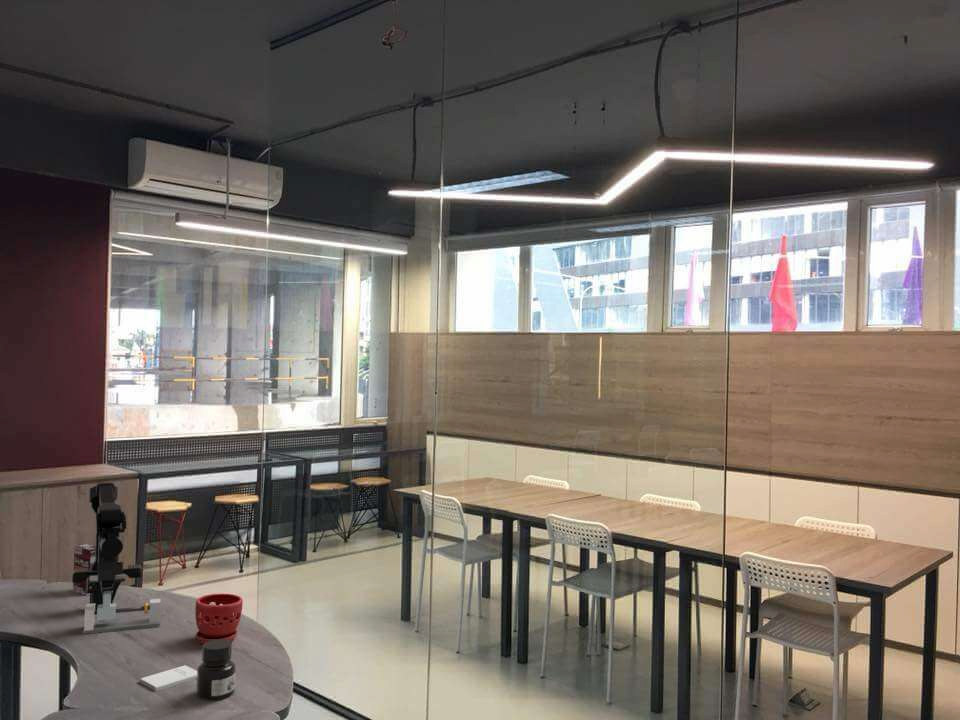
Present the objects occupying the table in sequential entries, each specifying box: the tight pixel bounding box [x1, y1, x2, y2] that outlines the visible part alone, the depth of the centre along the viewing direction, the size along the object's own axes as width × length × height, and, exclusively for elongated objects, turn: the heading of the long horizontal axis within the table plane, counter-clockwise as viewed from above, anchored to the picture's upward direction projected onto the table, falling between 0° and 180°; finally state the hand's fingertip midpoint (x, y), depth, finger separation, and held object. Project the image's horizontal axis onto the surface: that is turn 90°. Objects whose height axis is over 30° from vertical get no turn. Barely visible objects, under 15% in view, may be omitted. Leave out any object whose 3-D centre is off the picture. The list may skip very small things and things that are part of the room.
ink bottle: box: [196, 640, 236, 701], centre depth 190 cm, size 10×9×12 cm
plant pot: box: [194, 593, 244, 644], centre depth 227 cm, size 13×13×12 cm
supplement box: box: [72, 543, 95, 596], centre depth 270 cm, size 9×5×16 cm, turn 62°
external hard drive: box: [138, 665, 197, 692], centre depth 198 cm, size 2×8×12 cm
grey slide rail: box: [82, 598, 161, 635], centre depth 236 cm, size 21×7×7 cm, turn 113°
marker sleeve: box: [96, 591, 117, 621], centre depth 234 cm, size 5×4×8 cm
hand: (106, 601), depth 234 cm, fingers open, 3 cm apart
